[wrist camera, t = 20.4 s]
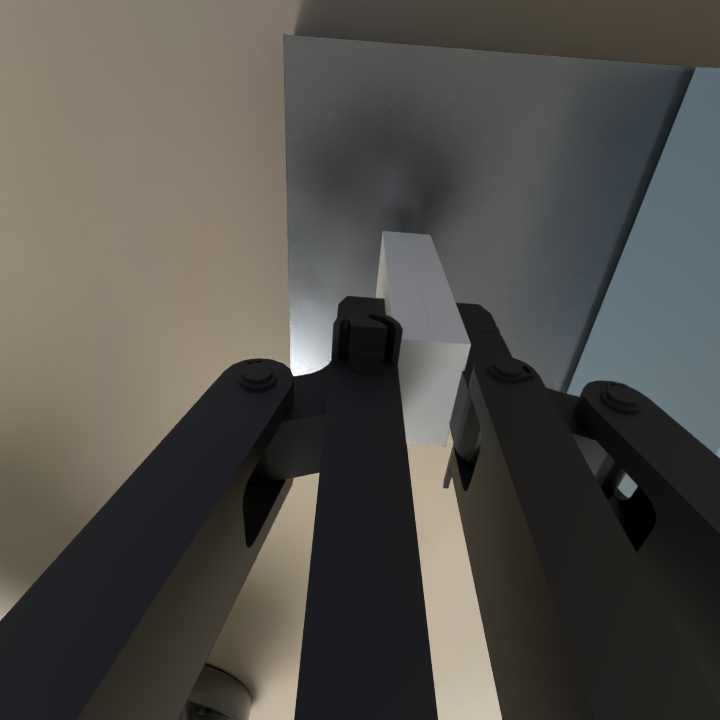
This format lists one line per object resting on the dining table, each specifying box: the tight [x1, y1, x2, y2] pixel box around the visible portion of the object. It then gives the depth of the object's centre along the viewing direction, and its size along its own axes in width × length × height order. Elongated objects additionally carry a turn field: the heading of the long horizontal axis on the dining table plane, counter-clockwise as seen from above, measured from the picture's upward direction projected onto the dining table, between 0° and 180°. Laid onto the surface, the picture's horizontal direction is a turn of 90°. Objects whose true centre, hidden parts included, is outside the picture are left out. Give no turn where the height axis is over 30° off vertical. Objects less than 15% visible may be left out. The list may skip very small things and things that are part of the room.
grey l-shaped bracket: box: [283, 34, 696, 393], centre depth 14 cm, size 26×12×9 cm, turn 86°
